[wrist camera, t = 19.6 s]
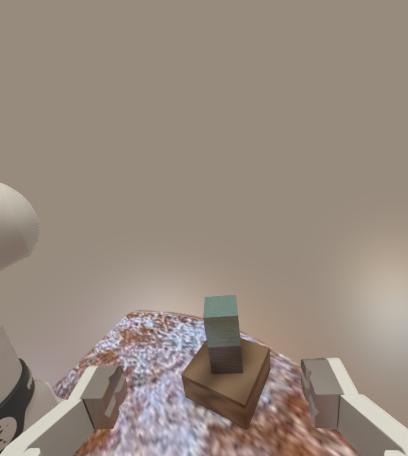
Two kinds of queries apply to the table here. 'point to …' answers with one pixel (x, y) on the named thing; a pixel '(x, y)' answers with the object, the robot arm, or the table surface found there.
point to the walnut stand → (229, 383)
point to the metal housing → (223, 334)
